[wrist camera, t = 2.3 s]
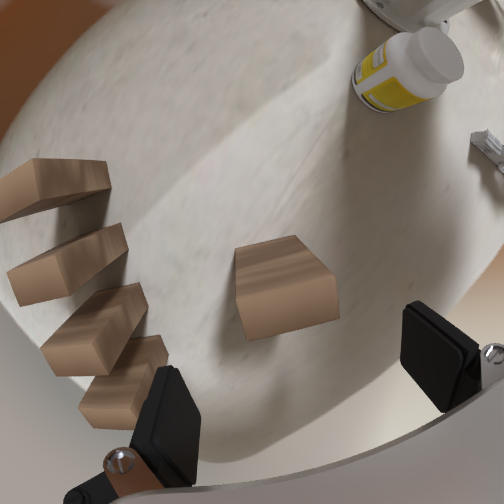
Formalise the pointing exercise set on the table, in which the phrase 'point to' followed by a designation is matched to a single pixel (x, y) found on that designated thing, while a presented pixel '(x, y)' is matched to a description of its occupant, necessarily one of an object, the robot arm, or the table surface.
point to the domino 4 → (124, 385)
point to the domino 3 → (96, 332)
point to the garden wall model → (489, 147)
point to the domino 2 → (66, 266)
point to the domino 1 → (50, 185)
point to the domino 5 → (282, 288)
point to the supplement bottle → (407, 70)
